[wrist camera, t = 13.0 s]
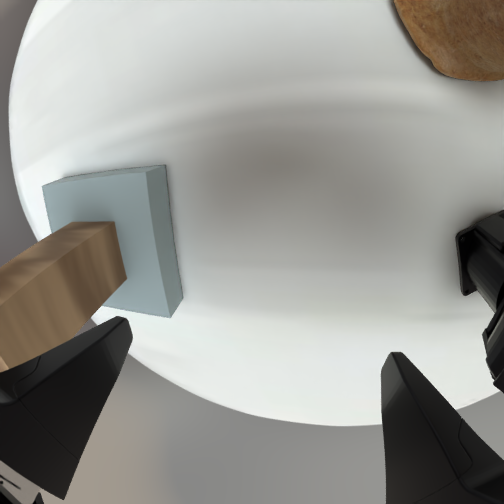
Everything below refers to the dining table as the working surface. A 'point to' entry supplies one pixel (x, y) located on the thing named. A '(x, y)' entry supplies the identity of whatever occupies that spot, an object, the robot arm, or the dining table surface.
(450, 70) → the sandstone flared vase
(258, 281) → the dining table surface
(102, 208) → the slate base
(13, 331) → the walnut column
